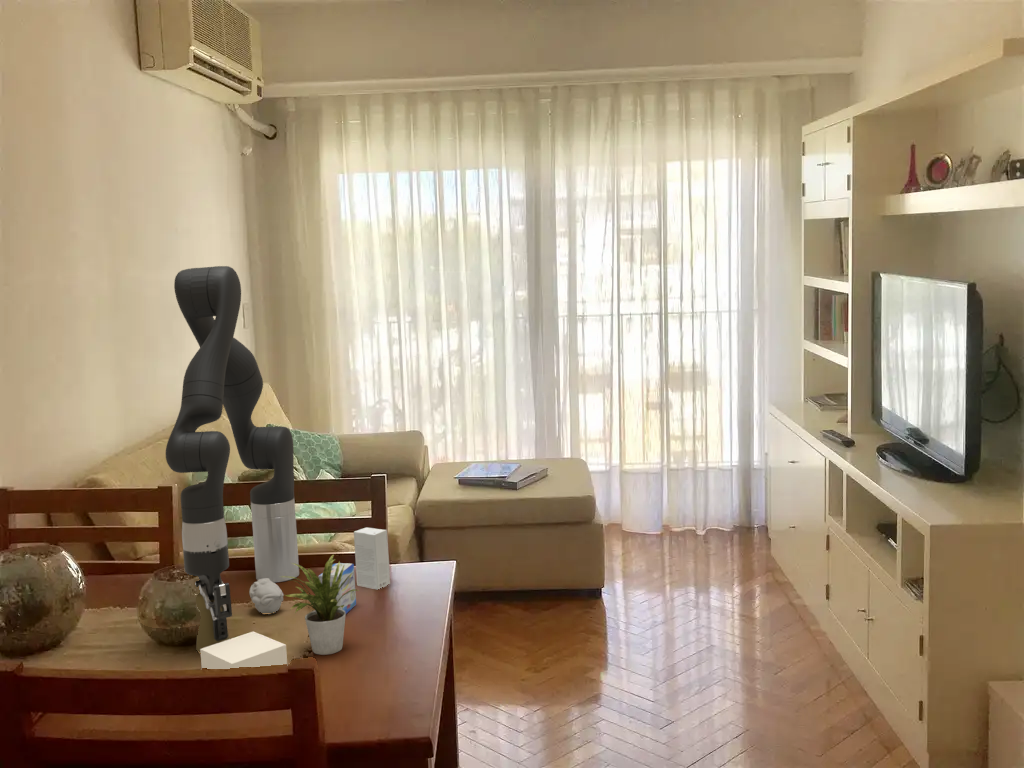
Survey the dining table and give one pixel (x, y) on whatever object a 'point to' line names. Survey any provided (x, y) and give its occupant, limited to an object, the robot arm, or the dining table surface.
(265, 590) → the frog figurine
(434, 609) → the dining table surface
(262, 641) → the cream block
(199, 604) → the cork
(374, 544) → the skincare box
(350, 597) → the medicine box
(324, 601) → the house plant
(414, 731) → the dining table surface
